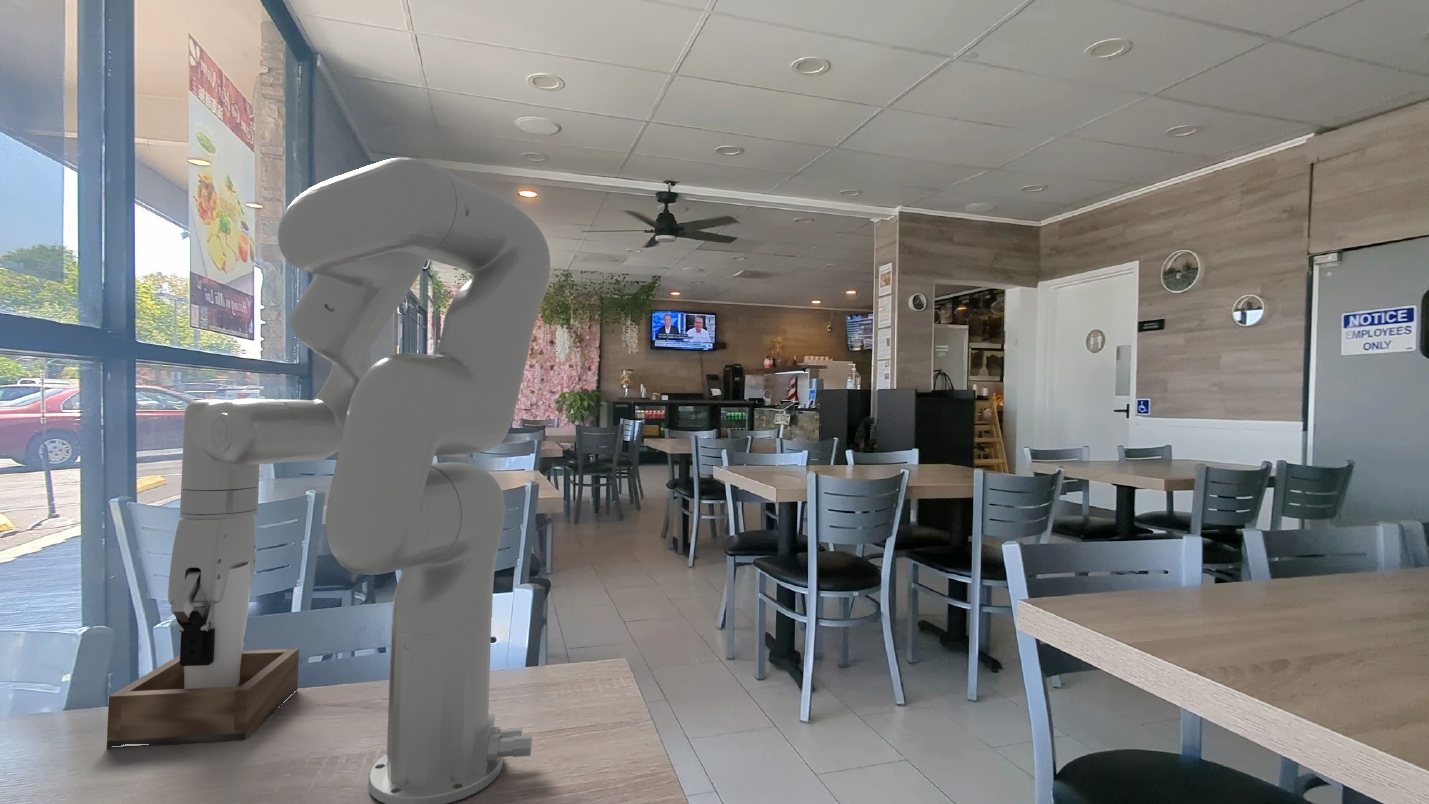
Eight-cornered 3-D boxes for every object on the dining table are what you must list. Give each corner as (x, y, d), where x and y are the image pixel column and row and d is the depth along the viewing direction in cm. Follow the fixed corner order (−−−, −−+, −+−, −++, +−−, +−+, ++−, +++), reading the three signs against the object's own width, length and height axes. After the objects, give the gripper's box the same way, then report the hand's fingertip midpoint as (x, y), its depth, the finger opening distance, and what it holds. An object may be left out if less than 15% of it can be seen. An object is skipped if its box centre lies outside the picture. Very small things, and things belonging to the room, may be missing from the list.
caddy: (297, 691, 87) (298, 648, 87) (245, 740, 74) (247, 690, 74) (181, 696, 85) (183, 652, 85) (106, 748, 72) (108, 696, 72)
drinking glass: (260, 682, 83) (264, 560, 83) (214, 706, 76) (219, 573, 76) (210, 678, 83) (214, 557, 84) (159, 701, 77) (164, 570, 77)
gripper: (224, 493, 88) (218, 631, 88) (136, 513, 71) (128, 684, 71) (286, 494, 89) (281, 630, 89) (215, 513, 72) (208, 681, 72)
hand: (213, 652), depth 80 cm, fingers closed on drinking glass, 6 cm apart
